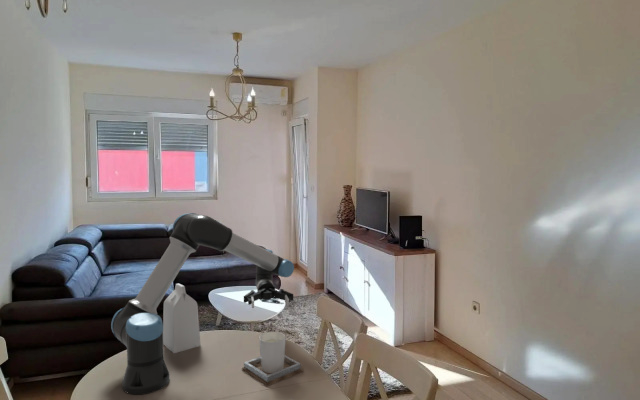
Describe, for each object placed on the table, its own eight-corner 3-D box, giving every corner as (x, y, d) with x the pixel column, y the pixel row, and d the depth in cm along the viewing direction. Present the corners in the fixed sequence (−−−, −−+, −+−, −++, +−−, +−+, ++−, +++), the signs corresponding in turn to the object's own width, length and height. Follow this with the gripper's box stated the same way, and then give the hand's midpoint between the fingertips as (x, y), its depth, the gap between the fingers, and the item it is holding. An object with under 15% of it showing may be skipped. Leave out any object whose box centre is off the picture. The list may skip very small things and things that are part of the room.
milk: (200, 345, 179) (199, 285, 177) (174, 353, 171) (172, 290, 169) (188, 337, 188) (187, 279, 186) (162, 344, 180) (161, 284, 178)
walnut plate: (267, 386, 145) (267, 383, 145) (242, 370, 157) (242, 367, 157) (302, 371, 156) (302, 368, 156) (277, 357, 168) (276, 354, 167)
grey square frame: (267, 382, 146) (267, 377, 146) (244, 367, 157) (243, 362, 157) (300, 368, 156) (300, 363, 156) (276, 355, 167) (276, 350, 167)
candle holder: (285, 374, 151) (284, 342, 150) (257, 374, 151) (257, 342, 150) (286, 362, 161) (286, 331, 160) (261, 362, 161) (260, 331, 160)
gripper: (294, 296, 188) (302, 311, 167) (237, 299, 183) (238, 315, 162) (294, 279, 188) (302, 293, 167) (237, 282, 182) (238, 295, 162)
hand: (270, 303), depth 165 cm, fingers open, 13 cm apart
